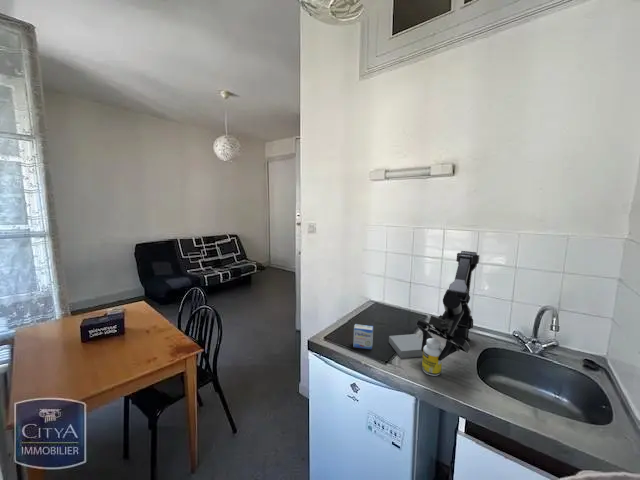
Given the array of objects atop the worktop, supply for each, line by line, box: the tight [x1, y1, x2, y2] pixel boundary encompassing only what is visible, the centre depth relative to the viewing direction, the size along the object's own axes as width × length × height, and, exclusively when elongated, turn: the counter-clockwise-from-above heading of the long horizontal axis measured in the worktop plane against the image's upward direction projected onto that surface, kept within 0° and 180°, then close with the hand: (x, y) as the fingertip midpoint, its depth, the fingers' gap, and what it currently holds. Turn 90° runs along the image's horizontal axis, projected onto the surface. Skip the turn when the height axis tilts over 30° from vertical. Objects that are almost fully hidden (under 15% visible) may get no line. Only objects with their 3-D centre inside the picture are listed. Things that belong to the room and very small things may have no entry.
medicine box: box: [352, 323, 374, 350], centre depth 118 cm, size 8×4×9 cm, turn 76°
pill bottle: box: [421, 337, 443, 377], centre depth 100 cm, size 6×6×12 cm
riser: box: [388, 333, 423, 359], centre depth 116 cm, size 12×12×3 cm
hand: (430, 355), depth 99 cm, fingers closed on pill bottle, 6 cm apart
